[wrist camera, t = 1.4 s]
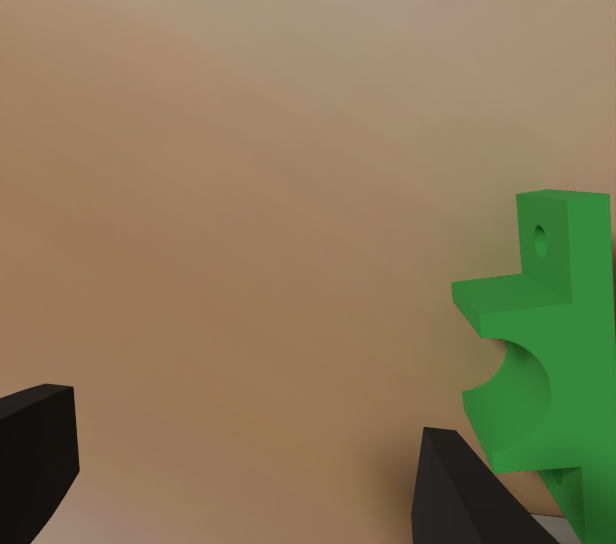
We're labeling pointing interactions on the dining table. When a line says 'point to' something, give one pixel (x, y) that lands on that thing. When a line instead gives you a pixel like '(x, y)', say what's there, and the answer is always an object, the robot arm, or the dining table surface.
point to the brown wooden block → (558, 529)
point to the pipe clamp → (553, 358)
